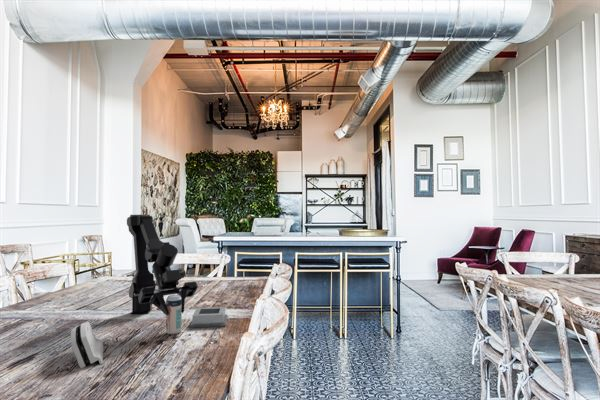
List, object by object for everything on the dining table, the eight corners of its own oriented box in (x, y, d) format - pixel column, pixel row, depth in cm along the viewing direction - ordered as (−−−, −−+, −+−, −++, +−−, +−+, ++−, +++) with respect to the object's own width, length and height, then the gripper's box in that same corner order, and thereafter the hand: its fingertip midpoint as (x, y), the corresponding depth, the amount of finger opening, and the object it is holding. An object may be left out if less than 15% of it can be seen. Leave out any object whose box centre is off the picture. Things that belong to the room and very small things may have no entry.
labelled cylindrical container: (168, 330, 126) (168, 294, 127) (182, 330, 127) (183, 294, 127) (164, 335, 122) (164, 297, 122) (179, 334, 122) (179, 297, 123)
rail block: (189, 328, 129) (189, 316, 129) (194, 318, 141) (194, 307, 141) (225, 326, 131) (225, 314, 131) (227, 317, 143) (227, 306, 143)
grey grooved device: (102, 364, 98) (88, 330, 97) (82, 374, 96) (67, 339, 95) (103, 344, 113) (91, 314, 112) (86, 352, 111) (73, 322, 110)
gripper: (141, 263, 122) (152, 303, 113) (195, 258, 134) (209, 294, 125) (133, 283, 128) (143, 324, 119) (186, 277, 140) (199, 313, 131)
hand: (175, 313), depth 123 cm, fingers closed on labelled cylindrical container, 5 cm apart
